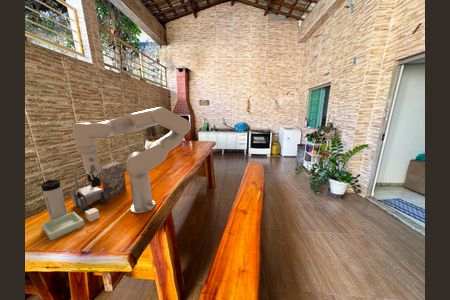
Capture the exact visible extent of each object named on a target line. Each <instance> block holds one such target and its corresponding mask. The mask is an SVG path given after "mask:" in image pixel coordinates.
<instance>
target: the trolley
mask: <svg viewBox="0 0 450 300" xmlns="http://www.w3.org/2000/svg"><path fill="white" fill-rule="evenodd" d="M82 172H86V170H85V168H84V169H79V170H77V171H73V172H72V173H73V178H74V183H75V188H76V192H73V193H71V199H72V203H73V204H74V207H76V208H79V210H80V211H81V213H85V211H87V210H90V208H89V207H90V206H89V204H91V203H94V202H97V201H100V202H101V203H102V204H103V205H105V204H107V203H110V198H109V195H108V193H107V191H106V190H103V188H101V186H98V187H94V188H93V187H92V183H91V182H90V185H87V186H83V187H81V188H80V187H79V183H78V179H77V174H78V173H82Z"/></svg>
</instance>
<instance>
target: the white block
mask: <svg viewBox="0 0 450 300" xmlns="http://www.w3.org/2000/svg"><path fill="white" fill-rule="evenodd" d="M84 214H85V219H86V220H88V221H89V222H93V221H95V220H97V219H99V218H100V217H101V216H100V211H99V209H97V208H95V207H93V208H89V210H87V211H85V212H84Z"/></svg>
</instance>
